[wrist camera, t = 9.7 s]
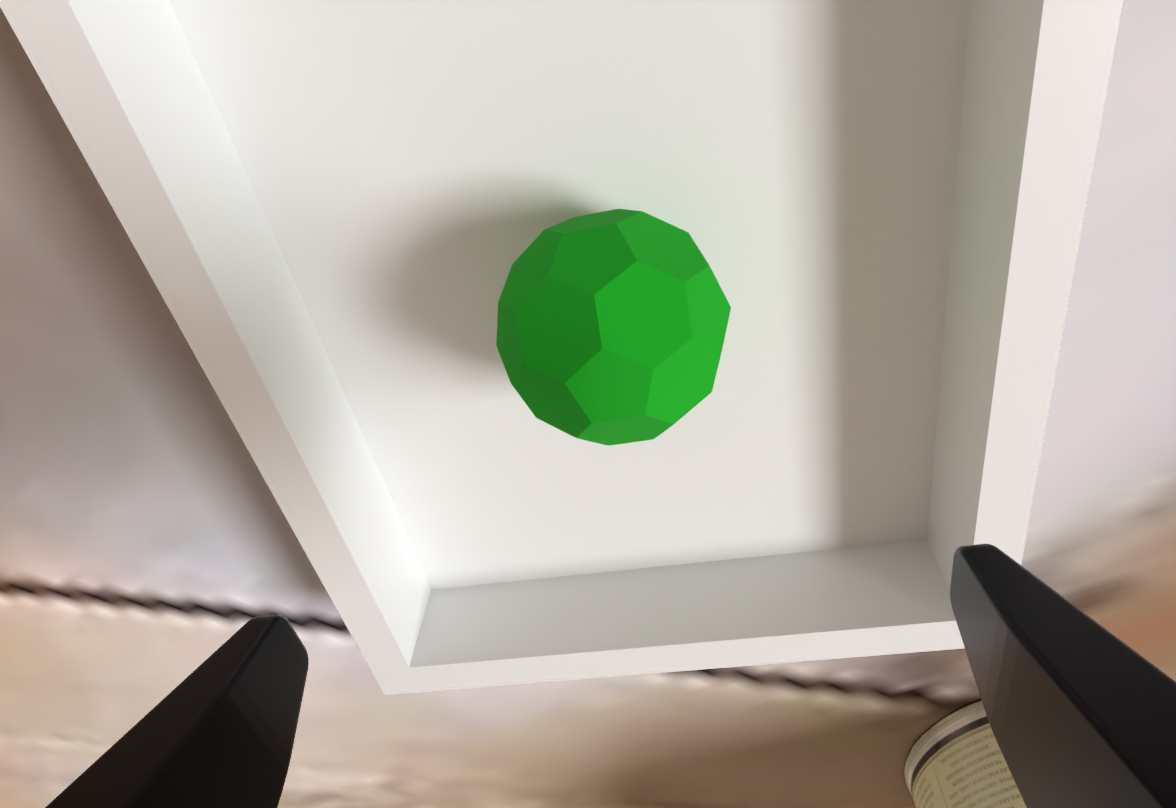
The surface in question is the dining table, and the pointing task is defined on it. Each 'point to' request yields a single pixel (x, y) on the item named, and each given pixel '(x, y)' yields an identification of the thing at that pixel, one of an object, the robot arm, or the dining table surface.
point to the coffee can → (961, 765)
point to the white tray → (585, 186)
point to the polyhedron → (612, 326)
